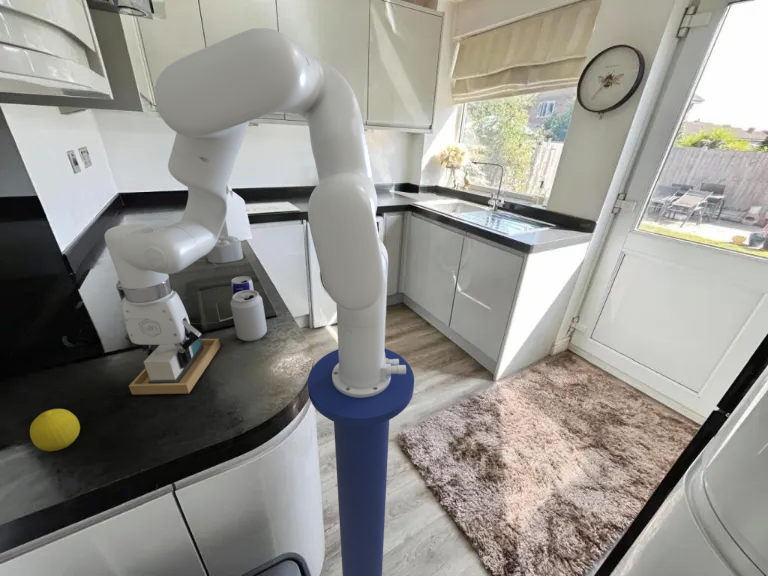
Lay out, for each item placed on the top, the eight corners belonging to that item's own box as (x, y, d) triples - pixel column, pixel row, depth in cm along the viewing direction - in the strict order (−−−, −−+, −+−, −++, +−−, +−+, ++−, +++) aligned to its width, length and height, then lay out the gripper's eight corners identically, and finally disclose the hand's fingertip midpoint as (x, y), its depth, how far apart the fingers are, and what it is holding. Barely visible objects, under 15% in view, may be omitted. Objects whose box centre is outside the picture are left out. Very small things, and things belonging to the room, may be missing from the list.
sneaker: (176, 386, 67) (169, 363, 64) (149, 386, 67) (140, 363, 64) (204, 348, 79) (198, 327, 76) (181, 348, 78) (174, 327, 76)
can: (255, 345, 81) (247, 304, 76) (230, 339, 83) (221, 298, 78) (273, 330, 88) (267, 290, 82) (250, 324, 90) (243, 286, 85)
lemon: (56, 466, 51) (34, 431, 48) (35, 454, 53) (12, 420, 50) (94, 438, 56) (76, 404, 53) (74, 429, 58) (55, 395, 54)
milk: (252, 238, 160) (244, 183, 149) (229, 243, 152) (218, 186, 141) (240, 233, 167) (231, 181, 156) (218, 237, 159) (207, 183, 148)
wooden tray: (220, 346, 81) (218, 338, 80) (189, 393, 66) (186, 384, 65) (174, 346, 80) (171, 339, 79) (132, 394, 65) (128, 385, 64)
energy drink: (246, 324, 90) (239, 285, 85) (234, 318, 92) (226, 280, 87) (261, 315, 94) (255, 278, 89) (249, 310, 97) (243, 274, 91)
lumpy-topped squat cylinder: (244, 259, 134) (241, 239, 131) (210, 265, 128) (205, 244, 124) (238, 252, 142) (235, 232, 138) (206, 257, 135) (201, 237, 131)
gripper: (87, 298, 58) (120, 376, 66) (184, 298, 59) (205, 375, 67) (115, 281, 65) (142, 354, 73) (202, 281, 66) (219, 353, 74)
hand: (172, 363), depth 70 cm, fingers closed on sneaker, 5 cm apart
